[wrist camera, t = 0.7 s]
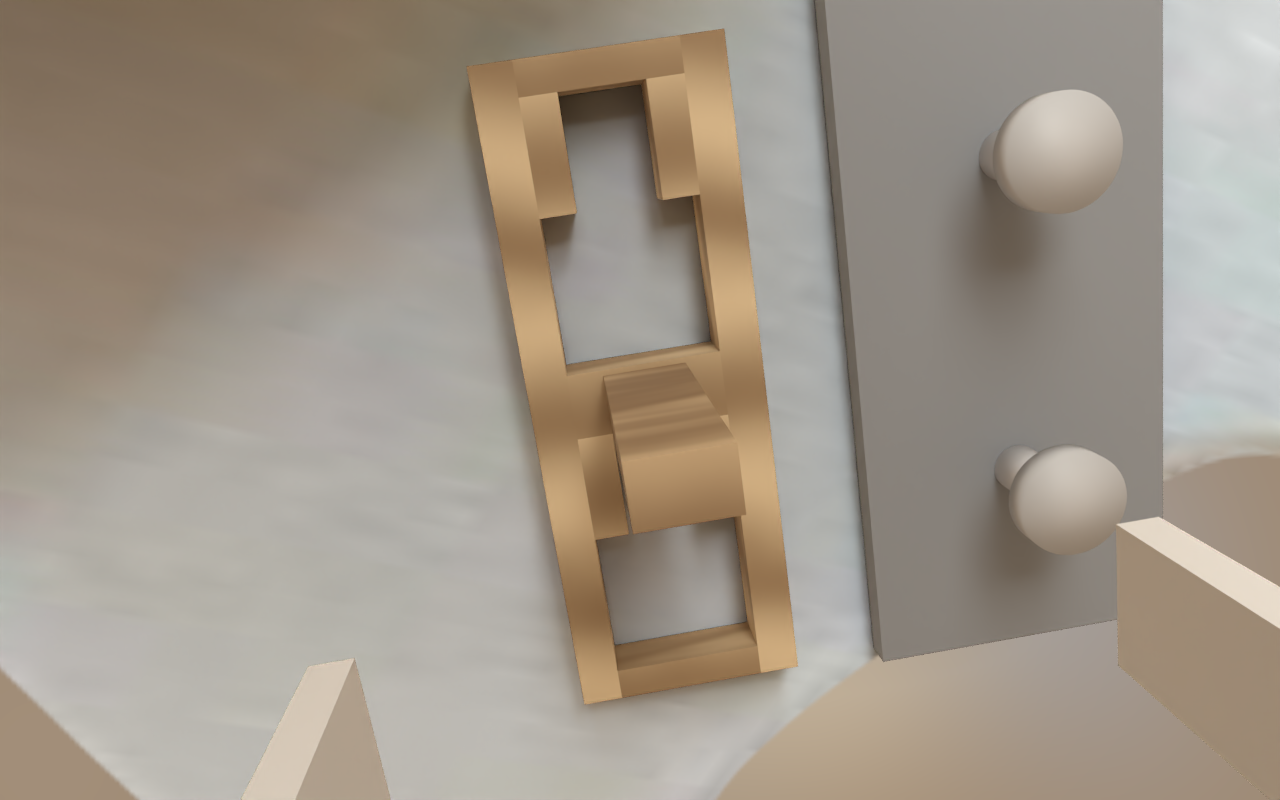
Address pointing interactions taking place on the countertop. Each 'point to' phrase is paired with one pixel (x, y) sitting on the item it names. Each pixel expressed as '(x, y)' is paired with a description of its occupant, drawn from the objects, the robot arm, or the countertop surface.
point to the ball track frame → (643, 360)
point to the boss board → (998, 303)
